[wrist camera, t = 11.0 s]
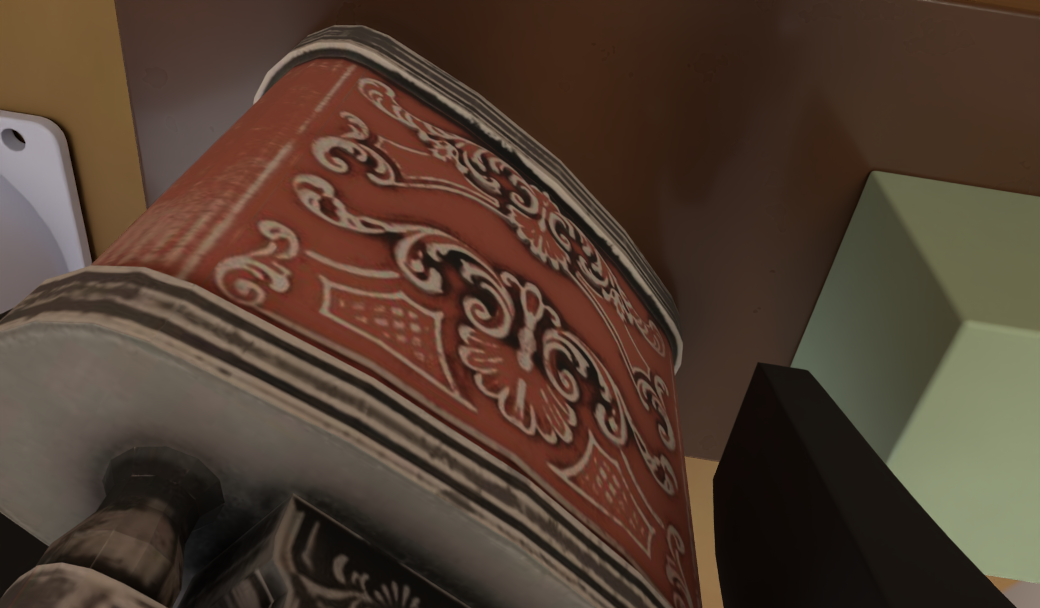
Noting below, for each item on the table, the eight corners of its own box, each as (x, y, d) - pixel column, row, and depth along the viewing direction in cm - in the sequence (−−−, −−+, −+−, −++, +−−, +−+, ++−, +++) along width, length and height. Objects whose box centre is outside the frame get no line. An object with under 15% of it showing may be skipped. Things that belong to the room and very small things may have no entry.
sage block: (786, 370, 14) (837, 553, 11) (870, 167, 12) (965, 321, 9) (1008, 406, 14) (1124, 600, 11) (1133, 209, 12) (1327, 379, 9)
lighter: (227, 129, 13) (-468, 814, 4) (355, -34, 11) (-345, 549, 3) (583, 414, 15) (561, 1172, 7) (725, 315, 14) (906, 1131, 6)
